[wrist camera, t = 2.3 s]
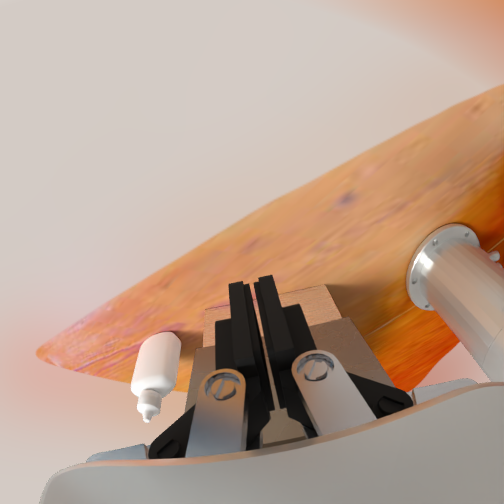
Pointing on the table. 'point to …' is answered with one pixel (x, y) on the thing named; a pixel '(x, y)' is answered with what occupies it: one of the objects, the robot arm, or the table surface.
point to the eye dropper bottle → (155, 372)
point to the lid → (327, 339)
